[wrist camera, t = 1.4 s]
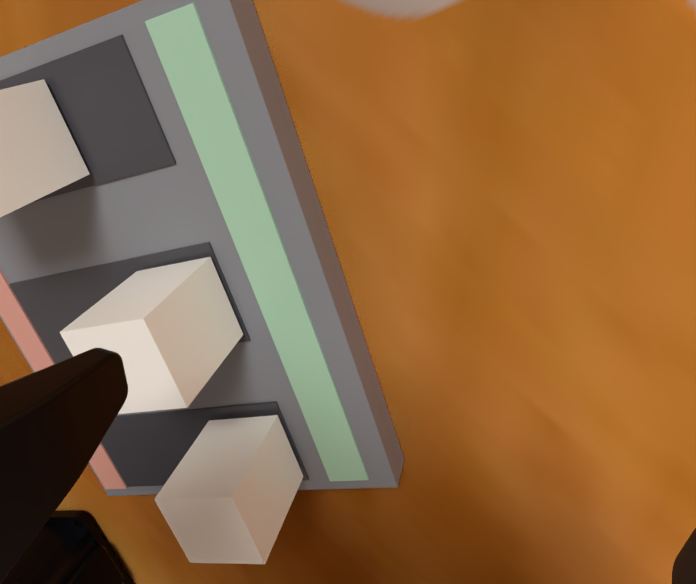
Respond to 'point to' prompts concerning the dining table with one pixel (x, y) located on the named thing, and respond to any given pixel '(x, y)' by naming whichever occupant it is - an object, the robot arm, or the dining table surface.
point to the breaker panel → (195, 237)
